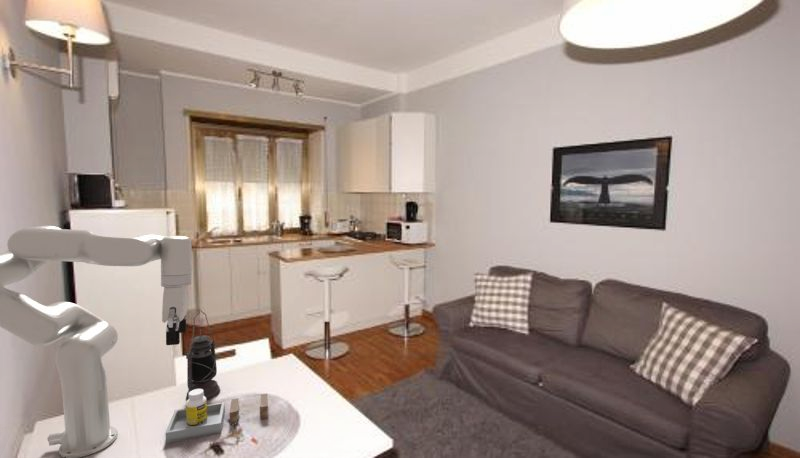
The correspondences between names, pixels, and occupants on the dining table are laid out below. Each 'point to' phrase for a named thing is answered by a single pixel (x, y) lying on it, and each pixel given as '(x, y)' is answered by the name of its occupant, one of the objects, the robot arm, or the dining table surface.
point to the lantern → (202, 365)
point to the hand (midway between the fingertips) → (176, 338)
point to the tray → (182, 431)
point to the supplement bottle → (196, 408)
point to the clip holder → (235, 409)
